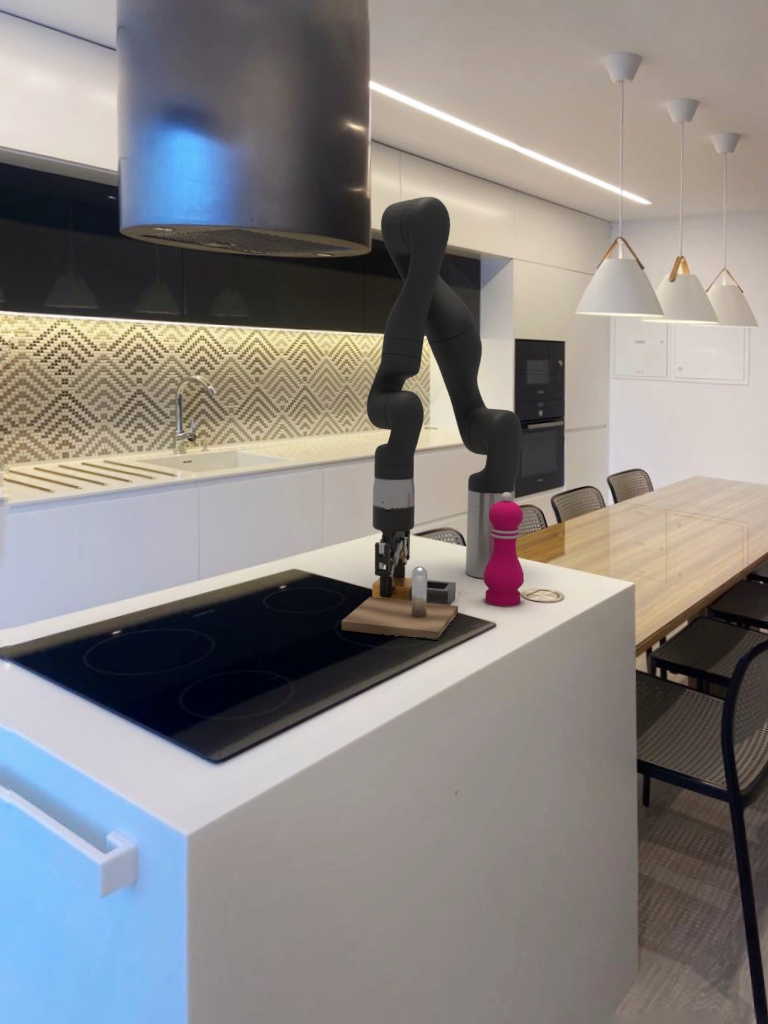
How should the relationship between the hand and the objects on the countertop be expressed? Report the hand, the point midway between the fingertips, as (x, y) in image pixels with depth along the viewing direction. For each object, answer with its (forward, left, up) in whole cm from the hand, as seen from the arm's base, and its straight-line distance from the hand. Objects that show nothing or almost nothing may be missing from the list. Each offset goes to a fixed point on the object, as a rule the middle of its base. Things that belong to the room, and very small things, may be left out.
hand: (392, 590), depth 150 cm
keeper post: (+13, +9, 0) cm, 16 cm away
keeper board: (+13, +6, -1) cm, 14 cm away
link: (0, +4, -1) cm, 4 cm away
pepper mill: (-4, +20, -1) cm, 20 cm away
